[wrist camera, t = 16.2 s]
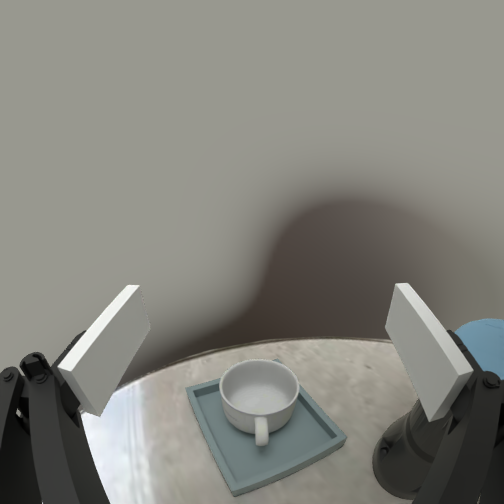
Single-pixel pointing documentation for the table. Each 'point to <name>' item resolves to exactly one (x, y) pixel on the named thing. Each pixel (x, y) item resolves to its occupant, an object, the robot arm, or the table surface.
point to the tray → (279, 444)
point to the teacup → (259, 396)
